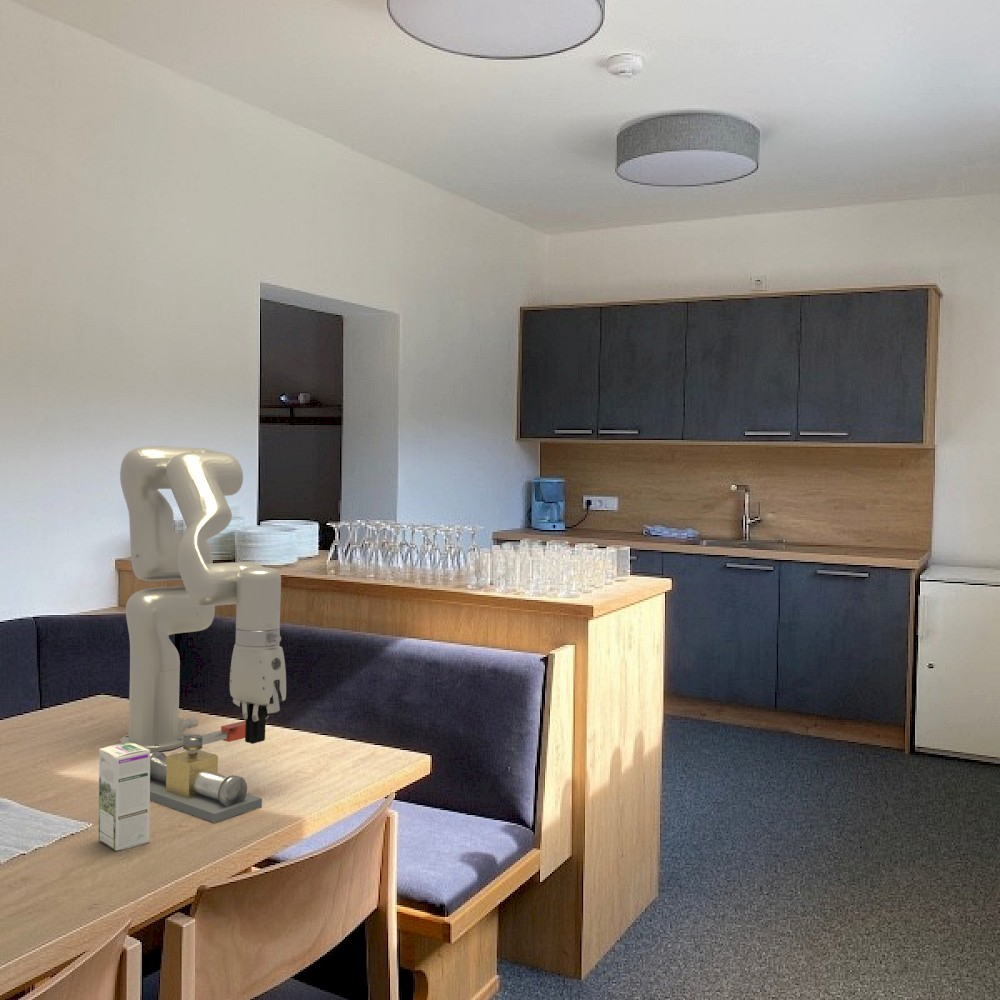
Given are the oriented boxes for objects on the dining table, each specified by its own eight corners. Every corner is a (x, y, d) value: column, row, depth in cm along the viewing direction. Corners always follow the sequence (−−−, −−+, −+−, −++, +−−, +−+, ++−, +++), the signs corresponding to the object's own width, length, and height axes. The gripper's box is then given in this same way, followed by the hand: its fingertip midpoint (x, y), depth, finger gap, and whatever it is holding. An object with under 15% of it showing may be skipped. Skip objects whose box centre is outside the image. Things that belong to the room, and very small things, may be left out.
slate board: (171, 777, 188) (171, 769, 188) (261, 806, 175) (261, 798, 174) (123, 790, 180) (123, 782, 180) (214, 823, 166) (214, 813, 166)
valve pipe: (165, 776, 186) (166, 740, 186) (248, 803, 173) (249, 764, 173) (136, 784, 181) (137, 747, 181) (220, 812, 168) (221, 772, 168)
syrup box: (151, 842, 157) (153, 748, 157) (114, 852, 153) (115, 755, 152) (132, 832, 161) (134, 740, 161) (96, 841, 157) (97, 747, 156)
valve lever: (244, 737, 188) (245, 719, 188) (257, 740, 187) (257, 722, 187) (178, 754, 177) (179, 735, 176) (190, 758, 175) (191, 739, 175)
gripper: (303, 640, 180) (300, 744, 181) (245, 630, 188) (242, 729, 189) (271, 646, 174) (268, 754, 175) (212, 635, 182) (209, 738, 183)
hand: (255, 741), depth 182 cm, fingers closed
